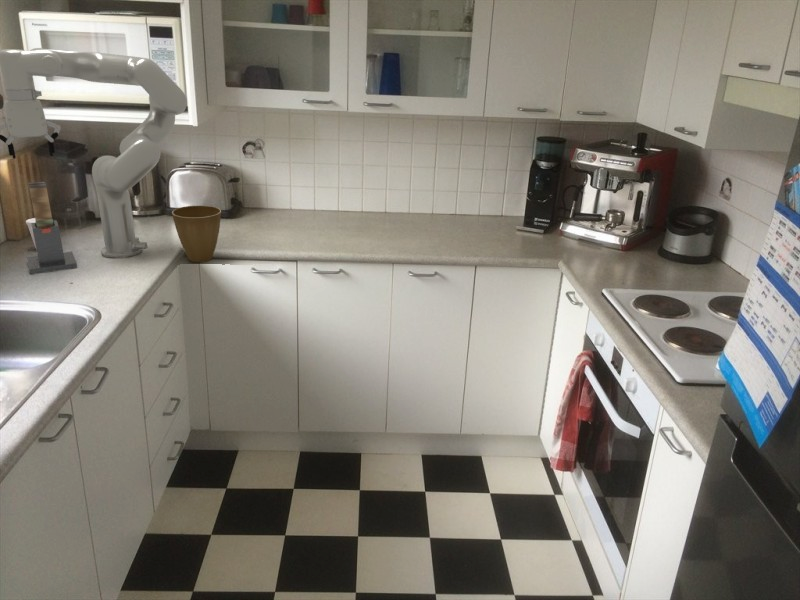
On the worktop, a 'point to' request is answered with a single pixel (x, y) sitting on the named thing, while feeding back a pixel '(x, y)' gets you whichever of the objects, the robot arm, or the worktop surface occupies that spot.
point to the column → (41, 204)
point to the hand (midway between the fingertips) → (33, 156)
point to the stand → (49, 251)
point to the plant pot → (198, 230)
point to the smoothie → (31, 227)
